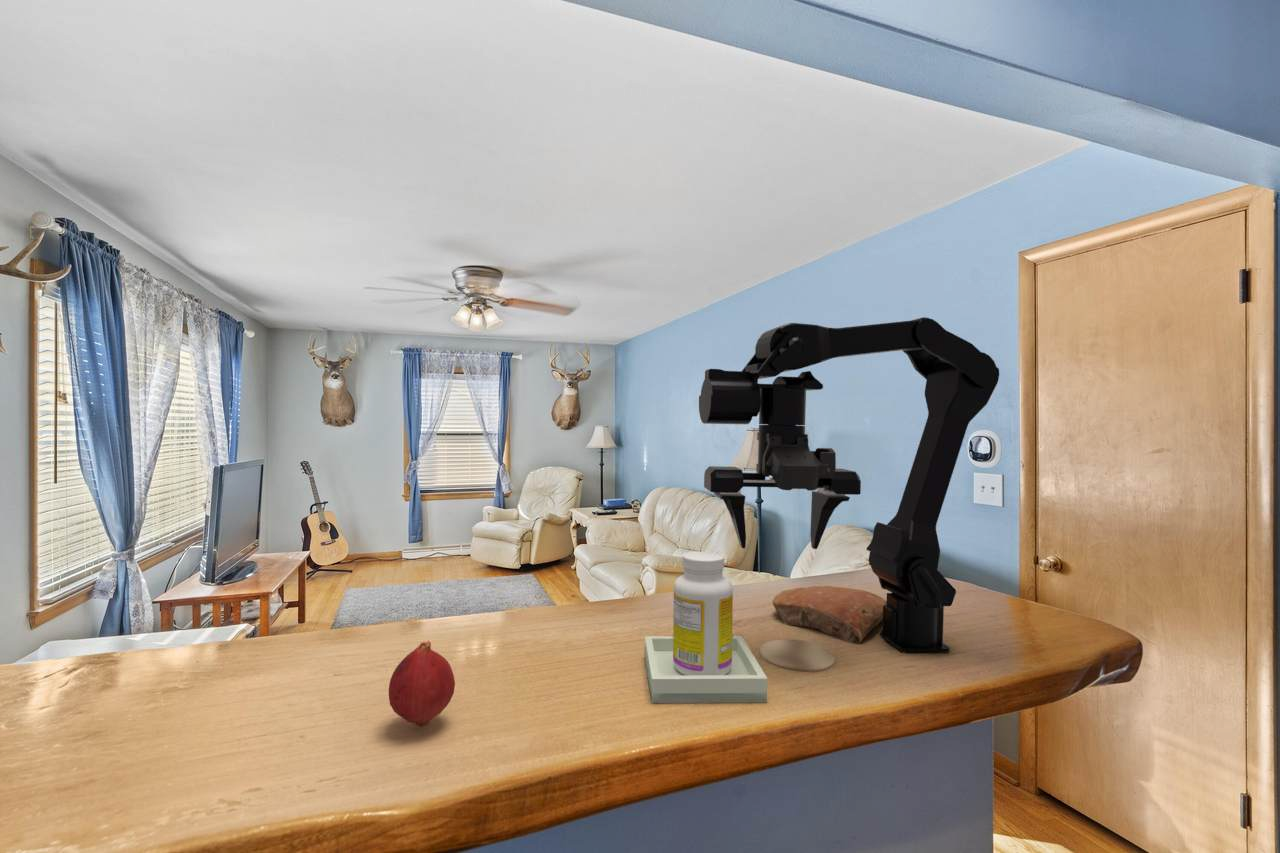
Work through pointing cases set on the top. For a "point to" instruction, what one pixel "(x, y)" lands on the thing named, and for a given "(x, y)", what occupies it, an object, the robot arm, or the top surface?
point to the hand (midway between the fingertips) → (778, 548)
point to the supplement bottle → (702, 616)
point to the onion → (421, 685)
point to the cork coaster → (797, 655)
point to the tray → (703, 676)
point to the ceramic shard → (831, 610)
